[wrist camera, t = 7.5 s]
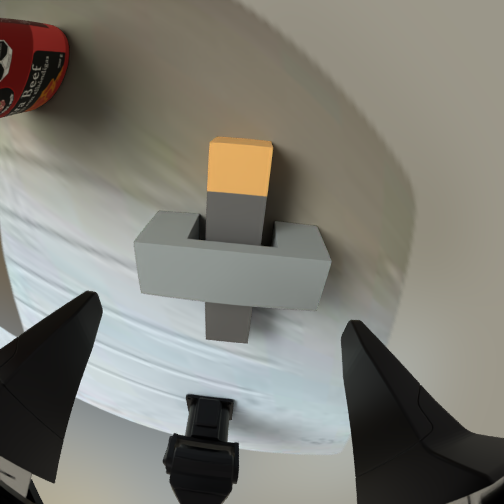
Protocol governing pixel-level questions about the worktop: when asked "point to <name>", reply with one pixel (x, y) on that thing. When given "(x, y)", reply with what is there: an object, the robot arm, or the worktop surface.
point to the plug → (235, 217)
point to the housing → (232, 265)
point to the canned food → (30, 64)
